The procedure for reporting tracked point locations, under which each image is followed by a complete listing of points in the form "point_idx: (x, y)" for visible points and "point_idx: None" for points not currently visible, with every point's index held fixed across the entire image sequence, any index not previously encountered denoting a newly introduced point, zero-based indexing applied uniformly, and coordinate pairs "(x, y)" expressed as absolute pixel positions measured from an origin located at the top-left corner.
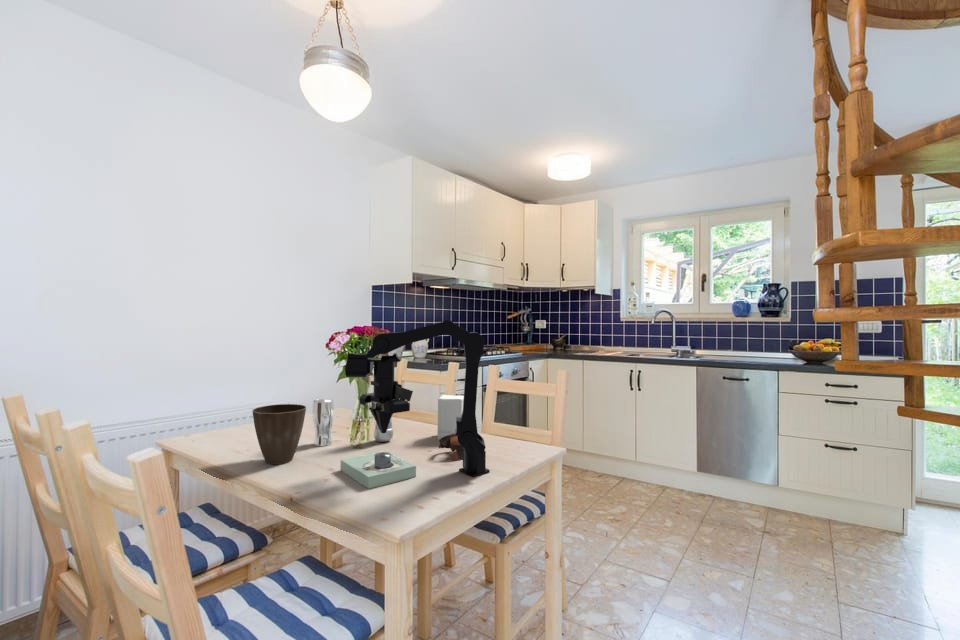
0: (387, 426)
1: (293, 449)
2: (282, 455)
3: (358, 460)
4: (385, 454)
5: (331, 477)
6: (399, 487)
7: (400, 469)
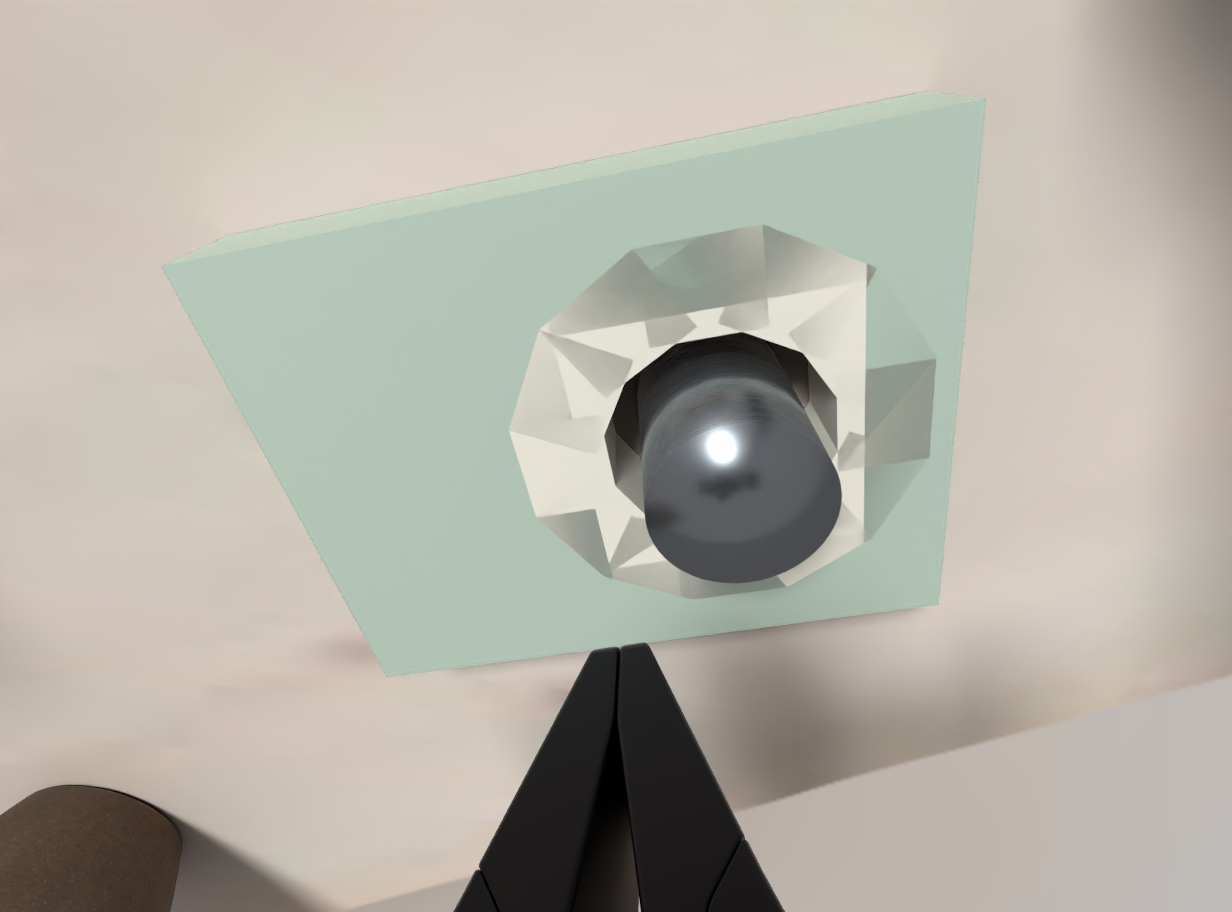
0: (693, 741)
1: (89, 873)
2: (159, 884)
3: (463, 580)
4: (752, 482)
5: (540, 672)
6: (1052, 347)
7: (963, 325)
